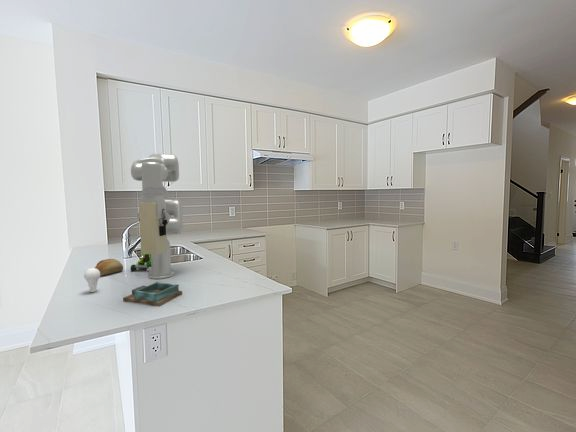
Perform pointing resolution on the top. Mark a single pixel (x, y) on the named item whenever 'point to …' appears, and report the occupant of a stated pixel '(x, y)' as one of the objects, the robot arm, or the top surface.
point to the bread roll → (109, 266)
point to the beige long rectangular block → (151, 230)
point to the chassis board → (154, 294)
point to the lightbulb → (92, 278)
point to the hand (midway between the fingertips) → (154, 234)
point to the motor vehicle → (142, 262)
